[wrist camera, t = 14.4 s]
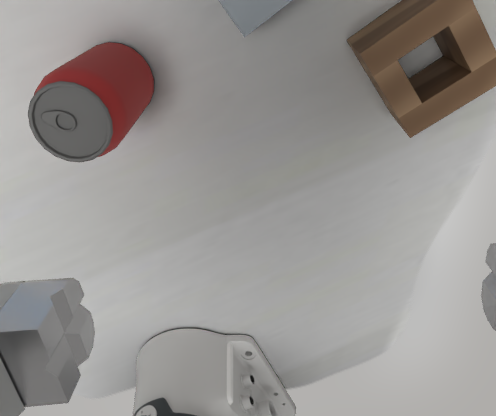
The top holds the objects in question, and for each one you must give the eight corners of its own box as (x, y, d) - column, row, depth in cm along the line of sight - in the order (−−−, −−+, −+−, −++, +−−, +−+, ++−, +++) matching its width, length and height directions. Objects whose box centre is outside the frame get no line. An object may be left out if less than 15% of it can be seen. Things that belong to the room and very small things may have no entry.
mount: (475, 61, 39) (508, 78, 34) (391, 114, 42) (410, 137, 37) (434, -23, 36) (463, -19, 31) (346, 40, 39) (359, 53, 34)
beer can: (84, 31, 39) (19, 61, 29) (161, 52, 40) (125, 88, 29) (78, 105, 42) (18, 156, 32) (149, 123, 43) (114, 179, 32)
